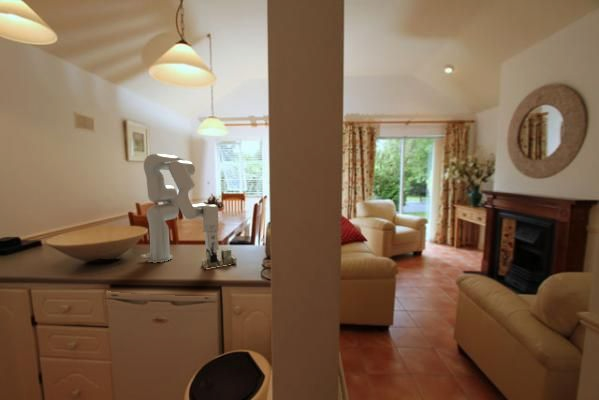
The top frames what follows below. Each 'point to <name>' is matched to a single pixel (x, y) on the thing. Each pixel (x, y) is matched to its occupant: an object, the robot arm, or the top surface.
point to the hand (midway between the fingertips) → (211, 259)
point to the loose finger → (209, 259)
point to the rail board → (222, 259)
